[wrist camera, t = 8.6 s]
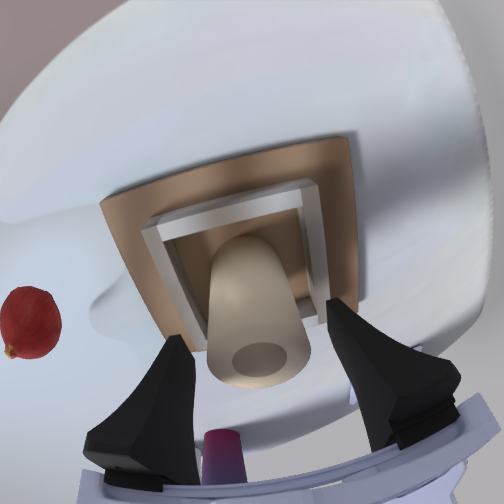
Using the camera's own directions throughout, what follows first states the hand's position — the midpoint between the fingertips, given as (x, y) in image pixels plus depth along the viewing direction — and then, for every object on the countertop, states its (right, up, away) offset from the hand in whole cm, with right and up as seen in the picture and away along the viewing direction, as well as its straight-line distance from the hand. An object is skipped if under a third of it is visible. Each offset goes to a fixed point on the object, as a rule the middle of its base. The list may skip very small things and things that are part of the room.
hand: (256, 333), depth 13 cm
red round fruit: (-18, 0, +7) cm, 20 cm away
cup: (-4, -22, +20) cm, 30 cm away
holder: (-1, +3, +6) cm, 7 cm away
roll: (-1, +3, +6) cm, 6 cm away
